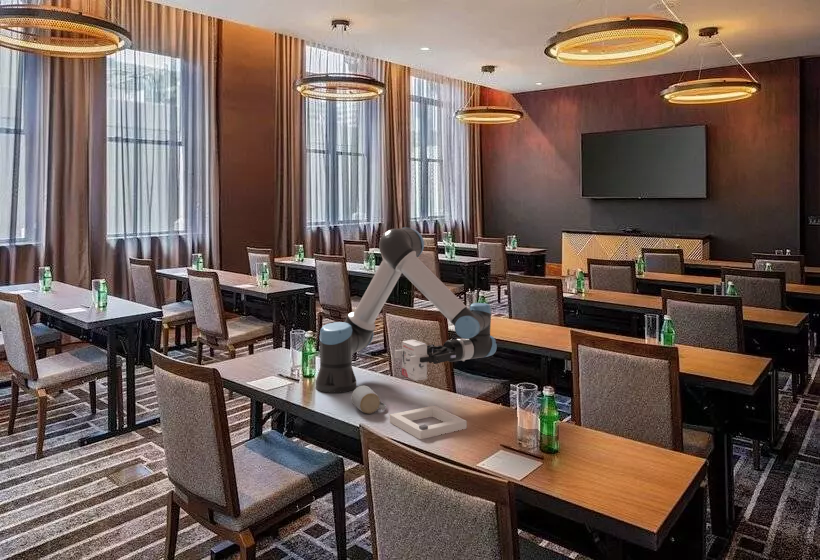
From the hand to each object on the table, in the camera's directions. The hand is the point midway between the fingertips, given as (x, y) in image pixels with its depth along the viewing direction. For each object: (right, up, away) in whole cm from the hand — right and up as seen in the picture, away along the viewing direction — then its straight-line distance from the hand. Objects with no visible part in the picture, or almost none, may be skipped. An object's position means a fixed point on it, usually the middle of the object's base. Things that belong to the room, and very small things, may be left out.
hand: (402, 357), depth 203 cm
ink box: (+4, -7, +3) cm, 9 cm away
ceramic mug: (-11, -18, +1) cm, 21 cm away
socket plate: (+8, -19, -13) cm, 24 cm away
